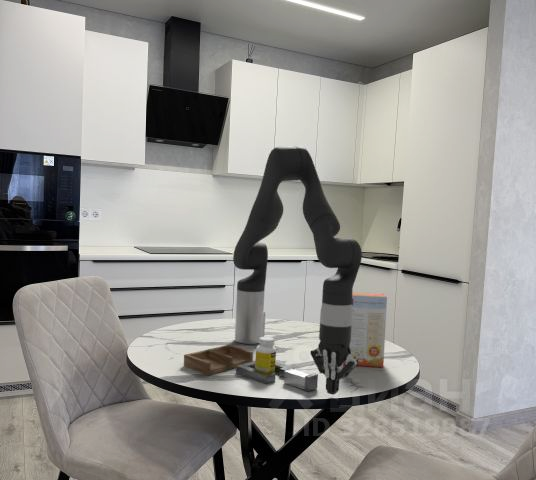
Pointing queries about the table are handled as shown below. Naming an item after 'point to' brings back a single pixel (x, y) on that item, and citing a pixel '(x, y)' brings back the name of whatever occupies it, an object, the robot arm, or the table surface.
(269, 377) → the socket
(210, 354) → the brown wooden divided tray
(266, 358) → the supplement bottle
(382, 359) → the cracker box
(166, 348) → the table surface
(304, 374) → the silver rectangular block
